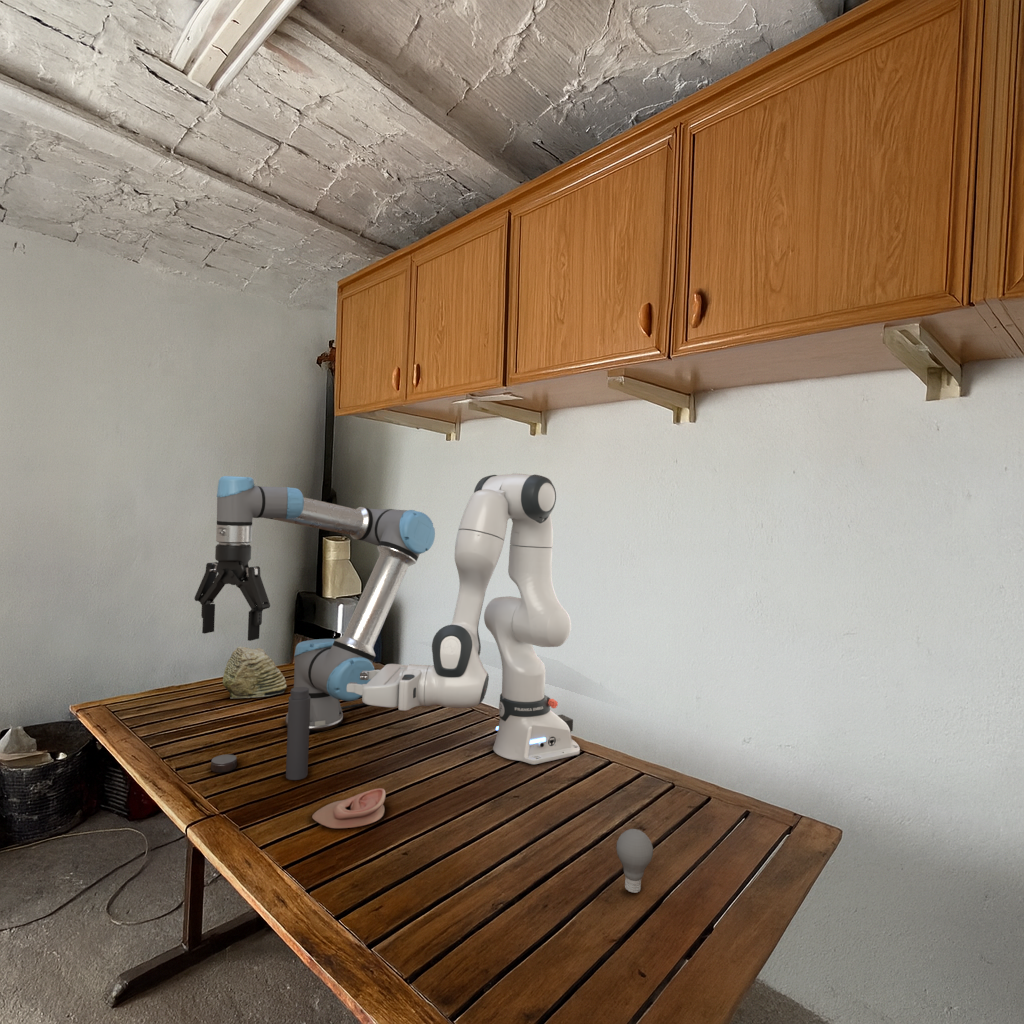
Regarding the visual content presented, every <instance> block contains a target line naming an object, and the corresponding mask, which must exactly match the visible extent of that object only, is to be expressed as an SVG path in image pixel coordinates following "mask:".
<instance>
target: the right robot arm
mask: <svg viewBox="0 0 1024 1024" xmlns="http://www.w3.org/2000/svg"><path fill="white" fill-rule="evenodd" d="M556 501H557V492H556V488H555V486H554V483H553V482H552V480H551V479H550V478H548V477H546V476H543V475H540V474H527V473H526V474H525V473H509V474H508V473H507V474H499V475H498V474H490V475H487V476H484V477H482V478H481V479H479V481H478V482H477V484H476V485H475V487H474V490H473V493H472V494H471V496H470V498H469V499H468V502H467V504H466V506H465V508H464V510H463V514H462V516H461V519H460V521H459V525H458V530H457V533H456V539H455V545H454V562H455V566H456V570H457V573H458V574H457V575H458V579H459V580H458V581H459V586H458V587H459V589H458V595H457V599H456V604H455V607H454V613H453V618H452V621H451V623H450V624H448V625H445V626H443V627H441V628H440V629H439V630H438V631H437V632H436V633H435V634H434V636H433V639H432V643H431V652H432V662H433V663H432V664H433V665H431V664H415V663H410V664H400V663H399V664H398V663H387V664H385V665H384V666H383V667H382V668H381V669H374V670H372V671H362V672H361V673H360V680H368V679H371V680H370V681H369V682H368V683H367V684H362V685H361V684H357V683H355V682H350V683H349V684H347V692H352V693H356V694H359V695H362V697H361V699H362V700H361V703H365V704H367V705H366V706H374V707H381V708H390V709H391V708H398V711H401V712H402V711H404V712H406V711H409V710H411V709H413V708H417V707H431V706H440V707H443V708H449V709H470V708H475V707H478V706H479V705H481V703H482V702H483V701H484V699H485V696H486V694H487V691H488V686H489V678H490V676H489V673H488V672H487V670H486V668H485V667H484V665H483V662H482V660H481V657H480V655H481V650H482V646H481V644H482V643H481V638H480V634H479V633H480V632H479V625H480V619H481V614H482V610H483V604H484V601H485V596H486V591H487V588H488V586H489V583H490V581H491V579H492V576H493V574H494V572H495V569H496V567H497V564H498V563H499V559H500V557H501V553H502V550H503V547H504V544H505V538H506V535H507V528H508V520H510V519H511V522H512V525H511V530H510V539H509V549H508V550H509V552H508V567H507V574H508V576H509V578H510V580H511V581H512V582H513V583H514V584H515V585H516V587H517V589H518V591H519V594H520V597H517V596H497V597H494V598H492V599H491V600H490V601H489V602H488V604H487V605H486V607H485V609H484V614H483V621H484V625H485V627H486V629H487V630H488V631H489V632H490V633H491V635H492V637H493V638H494V641H495V643H496V647H497V649H498V652H499V656H500V661H501V693H500V694H499V703H498V716H499V721H498V726H496V727H495V731H496V737H495V740H494V743H493V746H492V750H493V752H494V753H495V755H498V756H500V757H501V758H504V759H507V760H511V761H516V762H517V761H519V762H523V763H526V764H529V765H538V764H544V763H547V762H551V761H557V760H561V759H565V758H570V757H574V756H579V755H580V753H581V748H580V745H579V744H578V743H577V742H576V741H575V740H574V739H573V738H572V733H571V732H573V731H574V730H573V729H574V719H573V718H571V717H568V716H566V715H564V714H557V713H555V712H554V711H553V710H551V708H552V709H556V708H557V707H558V705H559V703H558V701H557V700H555V699H554V698H551V697H550V696H548V695H546V694H545V691H546V671H547V670H546V665H545V663H544V662H543V661H542V659H541V658H540V657H539V656H538V655H537V652H536V651H535V649H534V646H536V647H540V648H557V647H561V646H562V645H564V644H565V643H566V641H567V640H568V639H569V637H570V635H571V631H572V621H571V617H570V615H569V613H568V611H567V610H566V609H565V608H564V606H563V605H562V604H561V602H560V600H559V598H558V595H557V593H556V591H555V587H554V583H553V575H552V574H553V573H552V569H553V568H552V567H553V546H554V545H553V544H554V529H553V518H552V512H553V510H554V508H555V505H556Z"/></svg>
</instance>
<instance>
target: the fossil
mask: <svg viewBox="0 0 1024 1024" xmlns="http://www.w3.org/2000/svg"><path fill="white" fill-rule="evenodd" d="M222 676H223V677H222V685H223V687H224V688H225V690H226V691H228V693H229V698H230V699H250V698H264V697H271V696H275V695H281V694H284V693H285V691H286V689H287V687H288V686H287V680H286V678H285V676H284V674H283V673H282V672H281V669H279V668H278V667H277V665H276V663H275V662H274V660H273V659H272V658H271V657H270V656H269V655H268V654H267V653H266V652H265V650H264V649H263V648H260V647H258V648H251V647H247V646H246V647H245V646H238V647H237V648H236V649H235V650H233V651H232V653H231V656H230V657H229V659H228V660H227V663H226V666H225V668H224V671H223V675H222Z"/></svg>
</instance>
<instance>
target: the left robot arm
mask: <svg viewBox="0 0 1024 1024" xmlns="http://www.w3.org/2000/svg"><path fill="white" fill-rule="evenodd" d="M216 492H217V493H216V529H215V531H216V532H215V541H216V543H218V544H216V545H215V551H214V552H215V553H214V554H215V555H214V559H215V562H207V563H206V565H205V572H204V575H203V577H202V579H201V581H200V583H199V585H198V588H197V591H196V593H195V596H194V601H195V602H198V603H200V605H201V615H200V616H201V618H202V628H201V629H202V630H201V634H205V635H206V634H209V633H214V632H215V621H216V620H215V618H216V617H215V616H216V603H215V599H216V598H217V596H218V595H219V593H221V591H222V590H223V588H224V587H225V586H226V585H231V586H236V588H239V590H240V592H241V593H242V595H243V597H244V599H245V601H246V603H247V604H248V605H249V607H250V610H249V611H248V618H247V619H248V622H247V641H248V642H249V641H250V642H251V641H256V640H259V639H260V628H261V627H260V626H262V623H263V611H264V610H266V609H270V608H271V603H270V600H269V597H268V594H267V591H266V588H265V586H264V583H263V579H262V576H261V567H260V566H249V562H250V561H251V560H252V545H251V544H250V543H252V541H253V539H252V538H253V520H254V519H267V520H273V521H277V522H284V523H289V524H293V525H299V526H303V527H309V528H314V529H319V530H324V531H328V532H329V531H330V532H334V533H339V534H344V535H350V537H351V538H352V539H353V540H357V541H362V542H365V543H368V544H370V545H371V544H372V545H374V546H376V547H377V551H378V553H379V557H378V558H377V560H376V562H375V564H374V567H373V569H372V572H371V573H370V576H369V578H368V580H367V582H366V584H365V587H364V588H363V591H362V593H361V595H360V597H359V599H358V602H357V604H356V606H355V609H354V611H353V613H352V615H351V617H350V620H349V622H348V624H347V626H346V628H345V630H344V633H343V635H342V636H339V637H337V638H319V639H308V640H303V641H300V642H297V644H296V646H295V650H294V655H293V657H294V672H293V688H295V687H307V688H309V695H310V697H311V698H310V724H309V733H316V732H325V731H329V730H332V729H335V728H337V727H339V726H340V725H342V723H343V722H344V714H343V710H346V709H352V708H357V707H363V706H368V705H367V704H365V703H363V702H360V703H355V704H348V705H343V706H341V702H340V701H343V702H353V701H354V702H355V701H357V700H359V699H360V698H362V695H359V694H356V693H352V692H347V684H349V683H350V682H355V683H357V684H361V685H362V684H367V683H368V682H369V681H370V680H371V679H368V680H360V673H361V672H362V671H372V670H376V669H375V666H374V664H373V663H374V661H375V658H376V653H375V649H374V647H375V644H376V642H377V640H378V637H379V635H380V633H381V630H382V628H383V626H384V624H385V621H386V618H387V617H388V615H389V612H390V610H391V608H392V606H393V603H394V601H395V599H396V596H397V594H398V591H399V589H400V587H401V585H402V583H403V580H404V577H405V575H406V573H407V571H408V569H409V567H411V566H414V565H415V564H417V561H418V559H419V557H420V554H421V555H422V554H424V553H426V552H428V551H429V550H430V549H431V548H432V547H433V545H434V542H435V539H436V530H435V529H436V528H435V527H434V523H433V521H432V519H431V517H430V516H428V515H427V514H426V513H424V512H423V511H417V510H415V509H397V508H395V509H394V508H370V507H364V506H359V507H357V508H352V507H348V506H344V505H340V504H336V503H331V502H327V501H322V500H318V499H313V498H310V497H309V498H308V497H305V496H304V494H303V492H302V491H301V490H300V489H299V488H296V487H289V486H286V487H285V486H261V485H260V486H259V485H255V481H254V478H253V477H251V476H234V475H223V476H221V477H219V479H218V484H217V490H216ZM285 726H286V728H288V712H287V713H286V715H285Z"/></svg>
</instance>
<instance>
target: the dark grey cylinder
mask: <svg viewBox="0 0 1024 1024" xmlns="http://www.w3.org/2000/svg"><path fill="white" fill-rule="evenodd" d="M289 692H290V695H289V697H288V707H287V713H288V727H287V734H286V760H285V761H286V762H285V764H286V765H285V778H286V779H287V780H289V781H300V780H303V779H306V778H307V776H308V774H309V750H310V749H309V747H310V732H309V724H310V698H311V697H310V695H309V688H307V687H295V688H294V687H292V688H291V689H290V691H289Z"/></svg>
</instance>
